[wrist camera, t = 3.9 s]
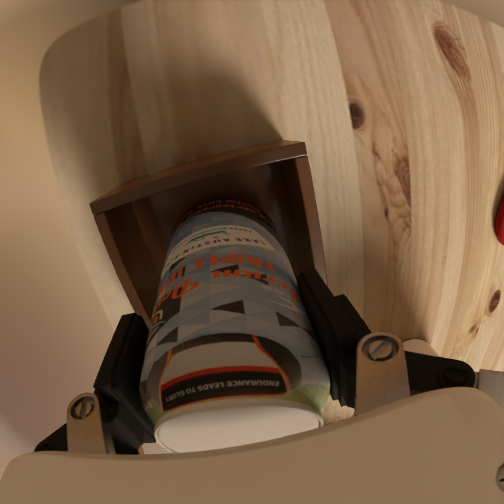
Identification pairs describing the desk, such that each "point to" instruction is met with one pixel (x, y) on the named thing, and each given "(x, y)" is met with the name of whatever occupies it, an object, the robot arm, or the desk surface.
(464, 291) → the desk surface
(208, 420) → the beverage can
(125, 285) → the wooden box
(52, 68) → the desk surface
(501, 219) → the lollipop
